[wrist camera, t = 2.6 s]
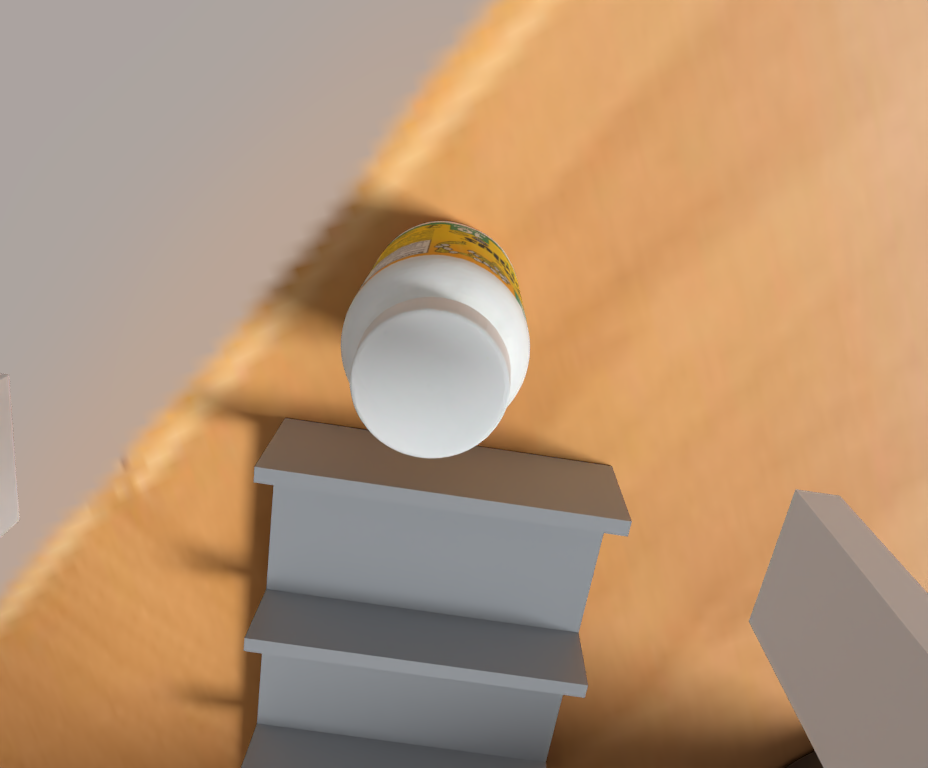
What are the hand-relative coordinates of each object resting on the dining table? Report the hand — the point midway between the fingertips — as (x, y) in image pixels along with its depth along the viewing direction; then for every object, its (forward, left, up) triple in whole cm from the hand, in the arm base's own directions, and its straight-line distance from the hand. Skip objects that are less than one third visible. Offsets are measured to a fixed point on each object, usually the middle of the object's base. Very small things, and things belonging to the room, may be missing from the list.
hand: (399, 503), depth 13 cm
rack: (-1, +17, -16) cm, 23 cm away
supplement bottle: (0, 0, -16) cm, 16 cm away
